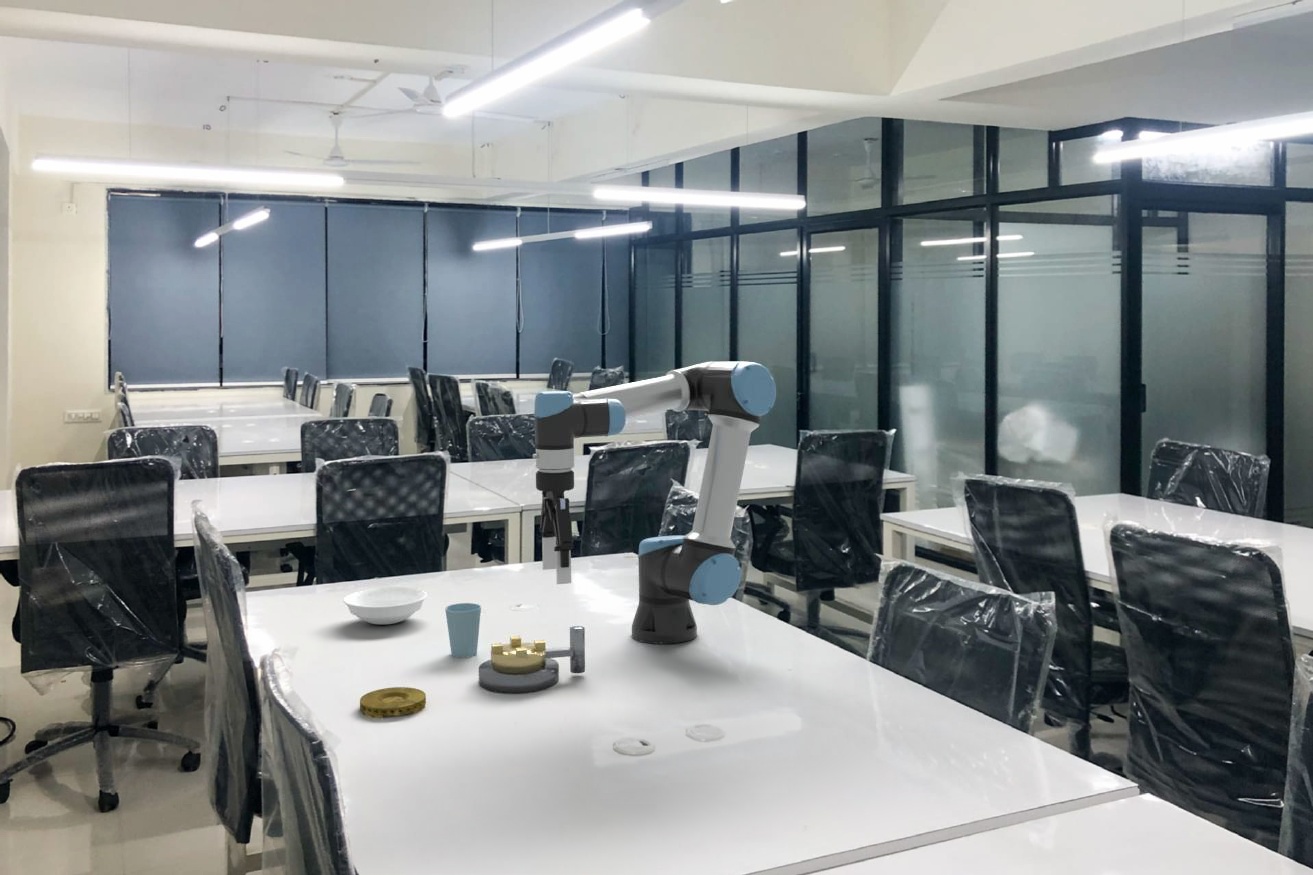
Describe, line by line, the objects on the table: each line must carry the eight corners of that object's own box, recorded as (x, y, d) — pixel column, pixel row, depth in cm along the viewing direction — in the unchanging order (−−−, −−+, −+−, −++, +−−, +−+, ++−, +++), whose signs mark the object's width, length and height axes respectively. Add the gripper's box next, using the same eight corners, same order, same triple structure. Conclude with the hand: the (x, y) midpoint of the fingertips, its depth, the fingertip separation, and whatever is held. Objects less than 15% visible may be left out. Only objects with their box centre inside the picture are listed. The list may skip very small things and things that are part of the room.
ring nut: (494, 686, 211) (493, 641, 210) (488, 670, 221) (487, 627, 220) (590, 678, 215) (589, 634, 215) (579, 662, 226) (579, 620, 225)
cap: (551, 665, 227) (551, 650, 227) (565, 689, 212) (565, 672, 211) (475, 672, 223) (474, 656, 223) (483, 697, 208) (482, 679, 207)
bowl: (390, 607, 277) (390, 583, 276) (444, 619, 265) (444, 594, 264) (326, 624, 261) (325, 599, 260) (381, 637, 249) (380, 610, 248)
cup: (486, 656, 234) (485, 609, 233) (451, 660, 231) (449, 613, 230) (477, 647, 241) (476, 601, 240) (443, 651, 238) (441, 605, 237)
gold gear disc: (356, 703, 206) (355, 692, 205) (419, 694, 210) (418, 683, 210) (365, 723, 195) (364, 711, 194) (431, 714, 199) (431, 702, 199)
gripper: (524, 463, 223) (526, 564, 225) (548, 478, 199) (550, 591, 201) (560, 461, 225) (561, 562, 227) (588, 476, 201) (589, 588, 203)
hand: (556, 576), depth 214 cm, fingers open, 13 cm apart
